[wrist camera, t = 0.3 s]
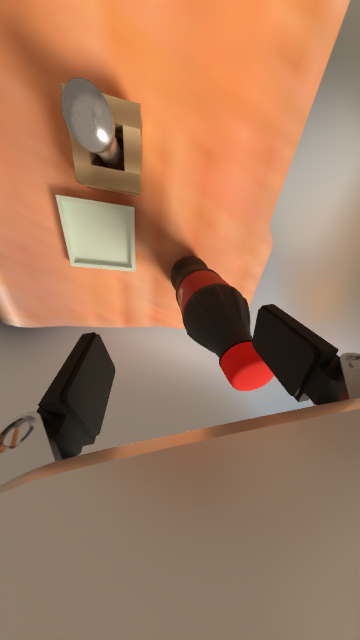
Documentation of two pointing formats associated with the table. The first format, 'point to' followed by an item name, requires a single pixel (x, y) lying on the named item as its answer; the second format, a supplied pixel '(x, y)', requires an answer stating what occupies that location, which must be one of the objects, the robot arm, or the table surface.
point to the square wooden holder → (131, 134)
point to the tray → (98, 233)
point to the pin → (91, 121)
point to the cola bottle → (219, 322)
